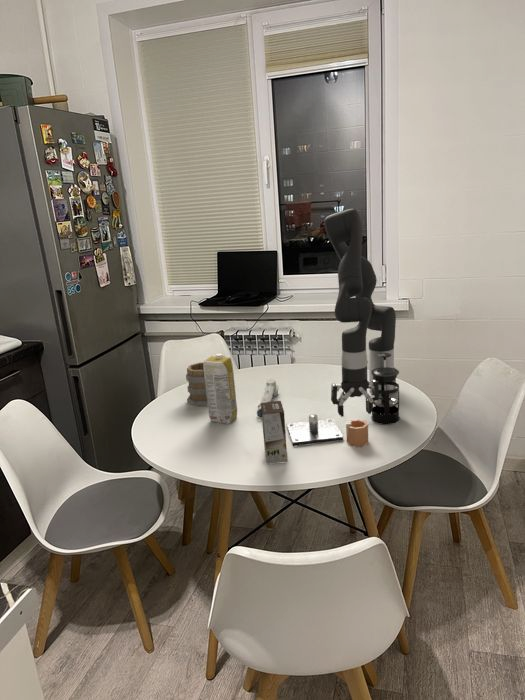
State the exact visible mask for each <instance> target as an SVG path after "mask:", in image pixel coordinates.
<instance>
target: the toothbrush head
mask: <svg viewBox="0 0 525 700" xmlns="http://www.w3.org/2000/svg"><path fill="white" fill-rule="evenodd" d="M278 385H279V384H277V381H276V380H275V379H273V378H270V379H268V380H267V381H266V386H265V388H264V392H263V395H262V398H261V400H260V402H259V404H258V405H257V411H256V413H257V414H256V415H257V416H258V418H261V417H262V413H261V403H265V402H271V401H273V400H272V399H273V397H276V396H278V394H279V387H280V386H278ZM261 419H262V418H261Z"/></svg>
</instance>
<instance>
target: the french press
mask: <svg viewBox="0 0 525 700" xmlns="http://www.w3.org/2000/svg"><path fill="white" fill-rule="evenodd" d="M378 356H379V357H383V360H384V367H381V368H376V369H373V370H372V371H371V374H372V375H373V379H375V380H376V381H378V385H381V390H379V394H381V395H380V396H379V400H375V401H374V402H373V412H371V416H370V419H371V422H373V423H375V424H379V425H393V424H397V423H399V421H400V419H401V417H400V385H399V383H397V382H396V383H395V382H392V381H394V380H395V379H397V377H398V375H399V374H400V370H398V369H397V368H396V369H394V368H389V367H385V360H386V357H390V356H391V354H389V353H380V354H379V355H378ZM386 385H393V386H396V389H393V390H386ZM370 388H371V392H372V391H373V388H372V387H371V386H369V387H368V388H367V389H366V392H367V393H368V389H369V390H370ZM371 392H370V393H371ZM396 393H397V398H395V397H392V396H390V395H392V394H396ZM372 395H373V392H372V393H371V396H372ZM367 400H368V399H367V398H366V397H365V412H366V413H368V412H367Z"/></svg>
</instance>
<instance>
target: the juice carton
mask: <svg viewBox="0 0 525 700" xmlns="http://www.w3.org/2000/svg"><path fill="white" fill-rule="evenodd" d="M223 356H224V355H223V354H222V353H216V354H215V355H211V356H210V357H208V358H207V359H205V360H203V361H202V362H203V368H204V378H205V386H206V395H207V403H208V406H207V410H208V416H209V420H210V422H212V423H221V424H227V425H229V424H231V422H233V421H234V420H235V419H237V417H238V402H237V393H236V384H235V382H236V381H235V373H234V367H233V361H232V357H231V356H224V357H223Z"/></svg>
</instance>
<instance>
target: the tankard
mask: <svg viewBox="0 0 525 700" xmlns="http://www.w3.org/2000/svg"><path fill="white" fill-rule="evenodd" d="M223 357H225V356H224V355H223ZM203 362H204V361H202V362H196V363H193V364H190V365H189V366H188V367H187V368H186V375H185V378H186V379H185V380H186V381H187V382H188V385H187V393H189V396H188V397H187V399H186V402H187V404H190V405H192V406H194V407H208V403H207V395H206V386H205V378H204V368H203Z"/></svg>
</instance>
